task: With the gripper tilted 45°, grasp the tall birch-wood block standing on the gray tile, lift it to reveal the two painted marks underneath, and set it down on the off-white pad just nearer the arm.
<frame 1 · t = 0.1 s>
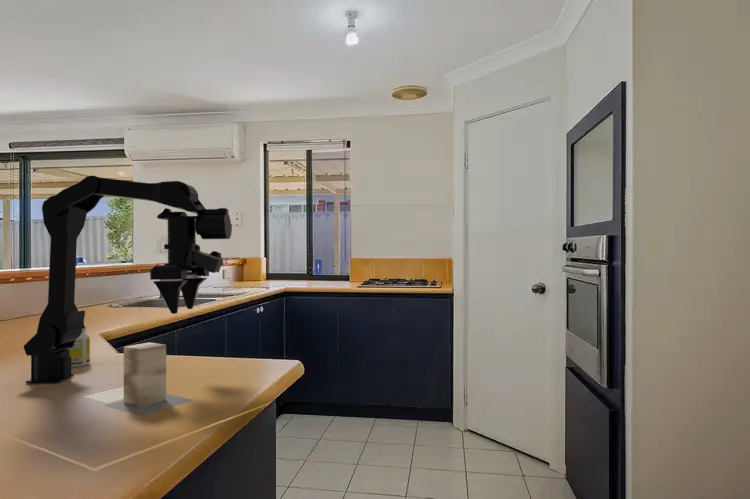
hand: (182, 311, 104), 15 cm above the countertop, tool pointing down, fingers open, 9 cm apart
gray tile: (145, 402, 86), on the countertop
supplement bottle: (77, 366, 118), on the countertop
birch block: (145, 401, 86), resting on gray tile
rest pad: (116, 395, 91), on the countertop
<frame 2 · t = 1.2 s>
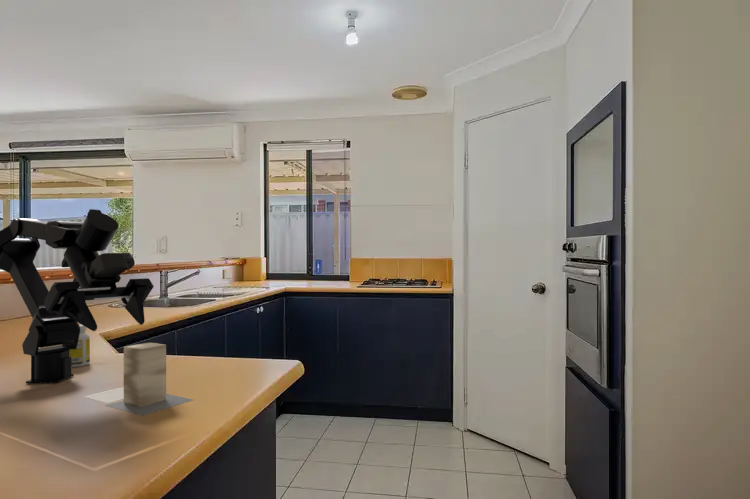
hand: (120, 326, 91), 13 cm above the countertop, tool tilted 45°, fingers open, 9 cm apart
nothing on the countertop moved.
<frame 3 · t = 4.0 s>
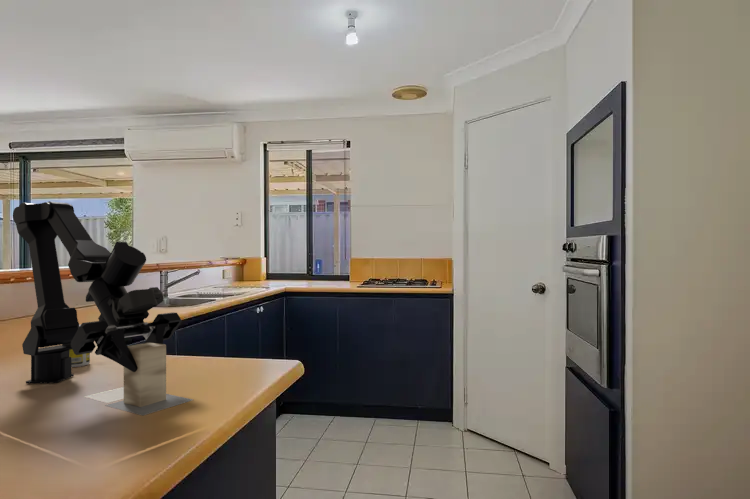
hand: (149, 367, 86), 7 cm above the countertop, tool tilted 45°, fingers closed on birch block, 5 cm apart
birch block: (145, 401, 86), resting on gray tile, touching gripper
everything else where it was.
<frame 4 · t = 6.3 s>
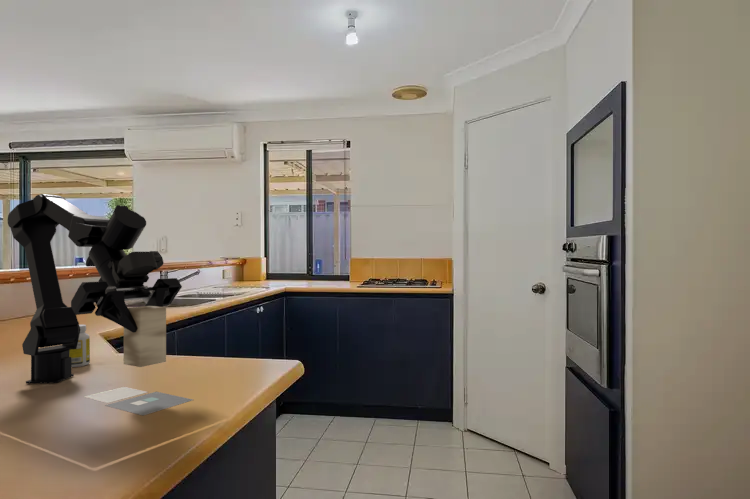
hand: (149, 328, 86), 13 cm above the countertop, tool tilted 45°, fingers closed on birch block, 5 cm apart
birch block: (145, 362, 86), point 7 cm above the countertop, touching gripper
everything else where it was.
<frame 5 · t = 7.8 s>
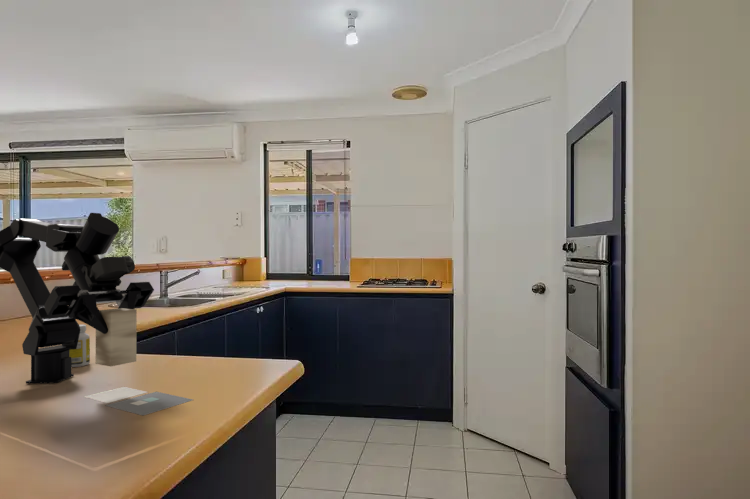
hand: (120, 330, 90), 13 cm above the countertop, tool tilted 45°, fingers closed on birch block, 5 cm apart
birch block: (116, 362, 91), point 6 cm above the countertop, touching gripper
everything else where it was.
when the fingers open (8 cm above the countertop, at t = 9.1 s): birch block drops 2 cm, resting on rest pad.
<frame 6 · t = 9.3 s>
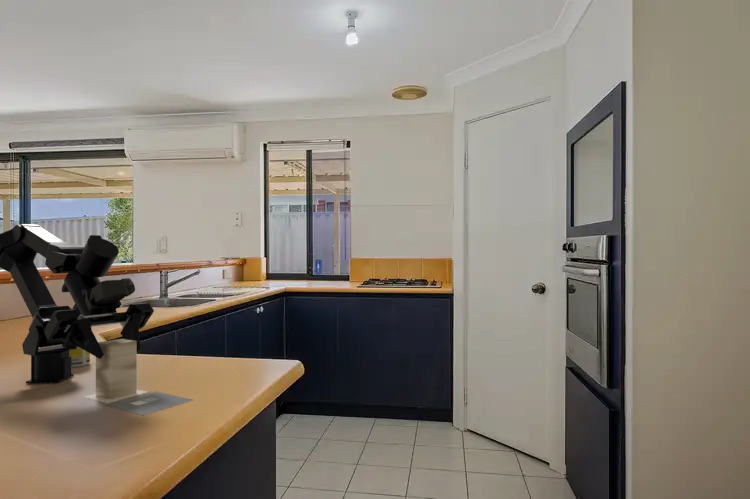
hand: (120, 353, 90), 8 cm above the countertop, tool tilted 45°, fingers open, 7 cm apart
birch block: (116, 394, 91), resting on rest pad
everything else where it was.
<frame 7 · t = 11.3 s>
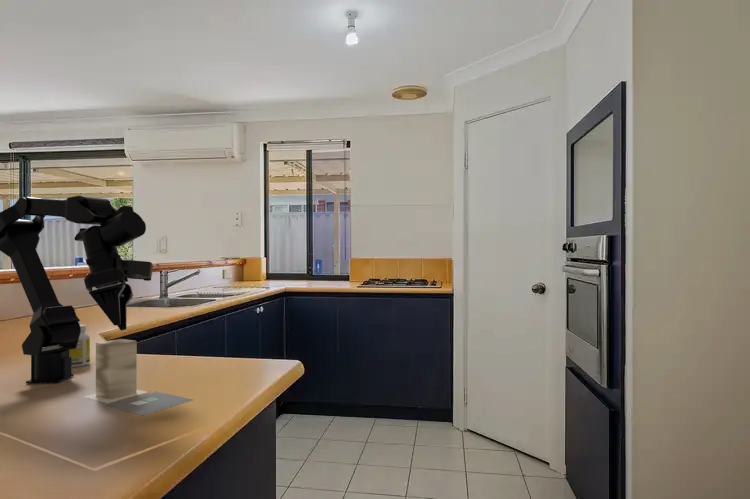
hand: (120, 327, 96), 12 cm above the countertop, tool tilted 20°, fingers open, 9 cm apart
nothing on the countertop moved.
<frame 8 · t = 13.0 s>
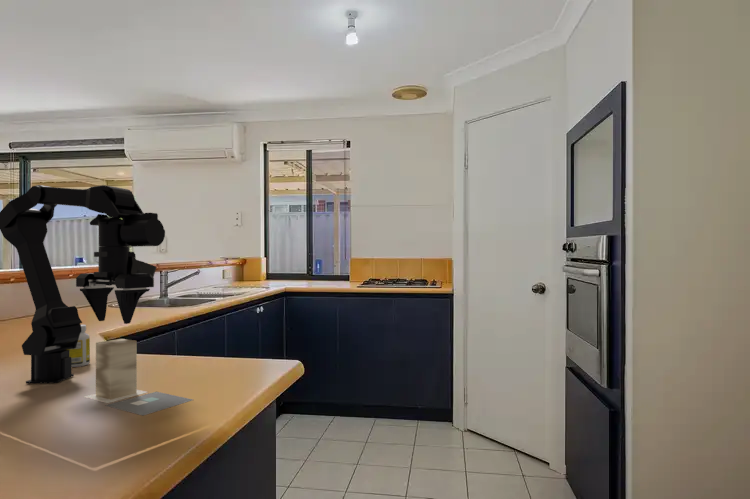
hand: (114, 322, 99), 13 cm above the countertop, tool pointing down, fingers open, 9 cm apart
nothing on the countertop moved.
at the end: birch block 0.0 cm from the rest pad (horizontally); birch block tilted 0°; the gripper is holding nothing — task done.
